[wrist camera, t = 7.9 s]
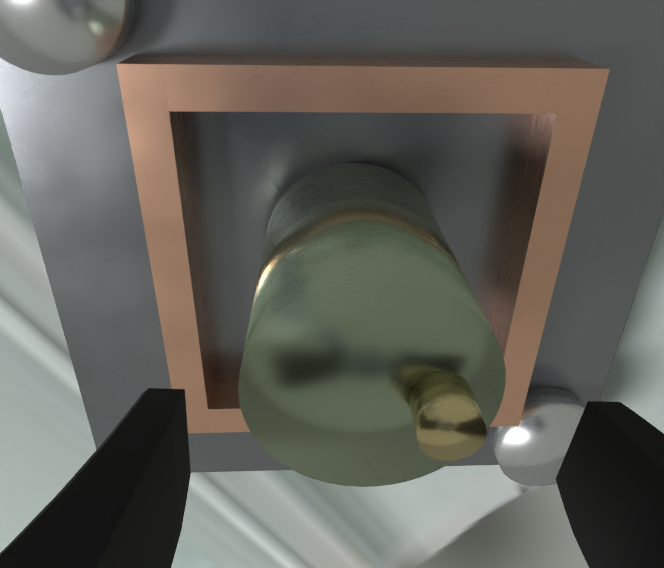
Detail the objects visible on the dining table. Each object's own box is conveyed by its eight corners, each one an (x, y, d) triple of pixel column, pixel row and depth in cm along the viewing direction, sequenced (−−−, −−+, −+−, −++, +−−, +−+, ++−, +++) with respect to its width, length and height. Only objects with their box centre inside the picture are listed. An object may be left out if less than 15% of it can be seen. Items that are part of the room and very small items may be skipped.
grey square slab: (119, 434, 22) (89, 509, 19) (-17, -117, 13) (-115, -144, 10) (556, 425, 23) (595, 494, 20) (714, -99, 14) (830, -119, 11)
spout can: (264, 314, 17) (233, 525, 10) (266, 157, 14) (227, 303, 8) (422, 321, 17) (489, 530, 11) (450, 168, 15) (559, 318, 8)
